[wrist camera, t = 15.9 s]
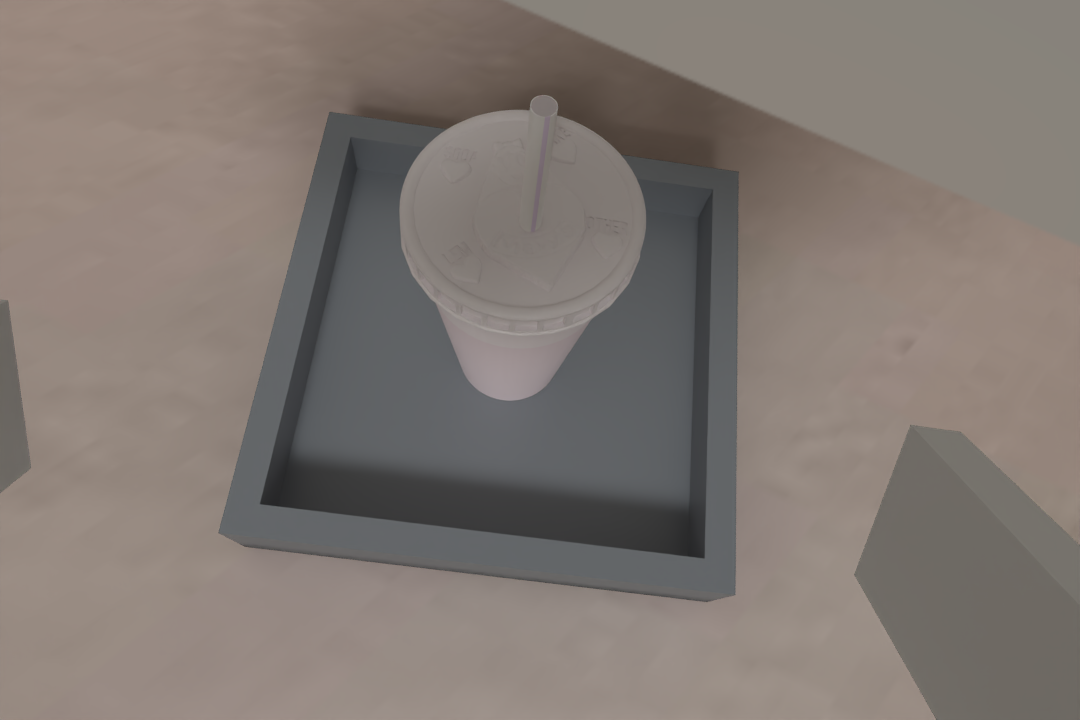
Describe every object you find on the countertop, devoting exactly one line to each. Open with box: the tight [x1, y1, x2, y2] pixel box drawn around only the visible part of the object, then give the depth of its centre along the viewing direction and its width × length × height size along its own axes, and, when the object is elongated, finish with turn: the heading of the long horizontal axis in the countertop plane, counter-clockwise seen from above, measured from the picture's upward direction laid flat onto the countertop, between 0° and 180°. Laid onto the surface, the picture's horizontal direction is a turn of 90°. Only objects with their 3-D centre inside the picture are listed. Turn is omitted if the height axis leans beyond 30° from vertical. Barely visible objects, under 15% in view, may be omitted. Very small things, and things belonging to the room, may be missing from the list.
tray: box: [219, 112, 738, 602], centre depth 28 cm, size 16×16×3 cm
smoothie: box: [399, 95, 646, 401], centre depth 22 cm, size 6×6×14 cm
